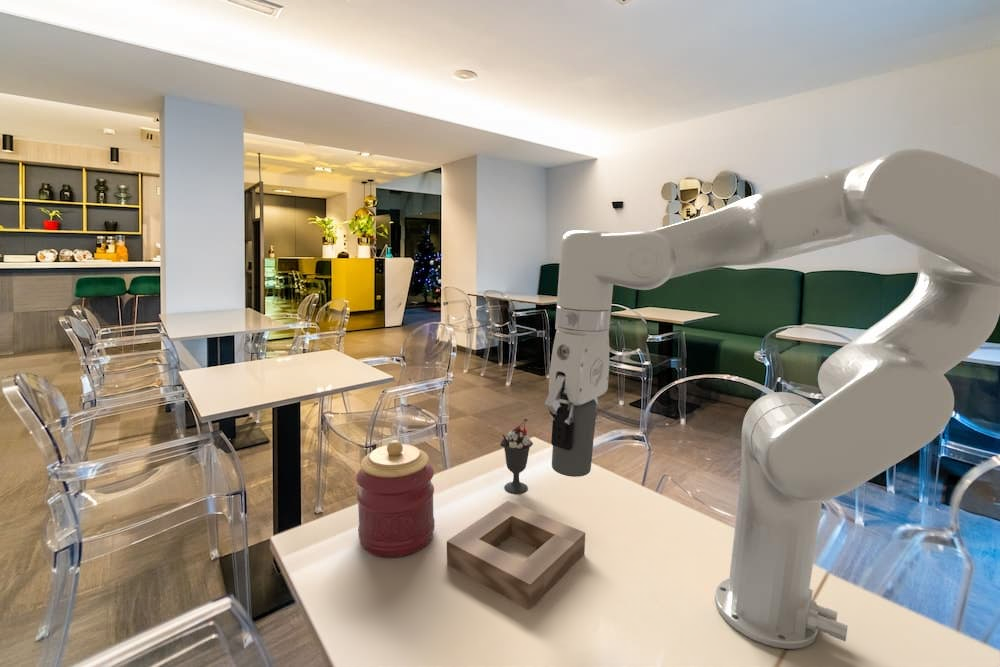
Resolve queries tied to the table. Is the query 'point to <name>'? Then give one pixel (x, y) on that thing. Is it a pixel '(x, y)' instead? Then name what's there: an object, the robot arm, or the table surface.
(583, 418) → the bottle
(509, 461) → the sundae
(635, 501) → the table surface
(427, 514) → the canister
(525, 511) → the collar block
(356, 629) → the table surface
